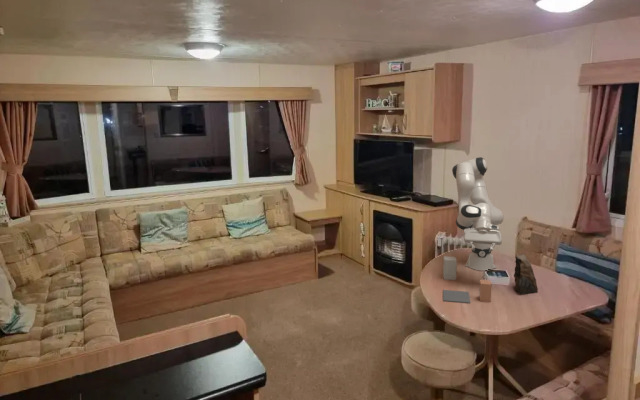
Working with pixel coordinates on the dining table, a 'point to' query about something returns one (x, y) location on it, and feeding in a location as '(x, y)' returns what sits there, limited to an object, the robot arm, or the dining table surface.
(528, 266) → the dark brown rock
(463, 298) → the grey mat
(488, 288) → the tan rectangular pillar
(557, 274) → the dining table surface
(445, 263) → the supplement box
